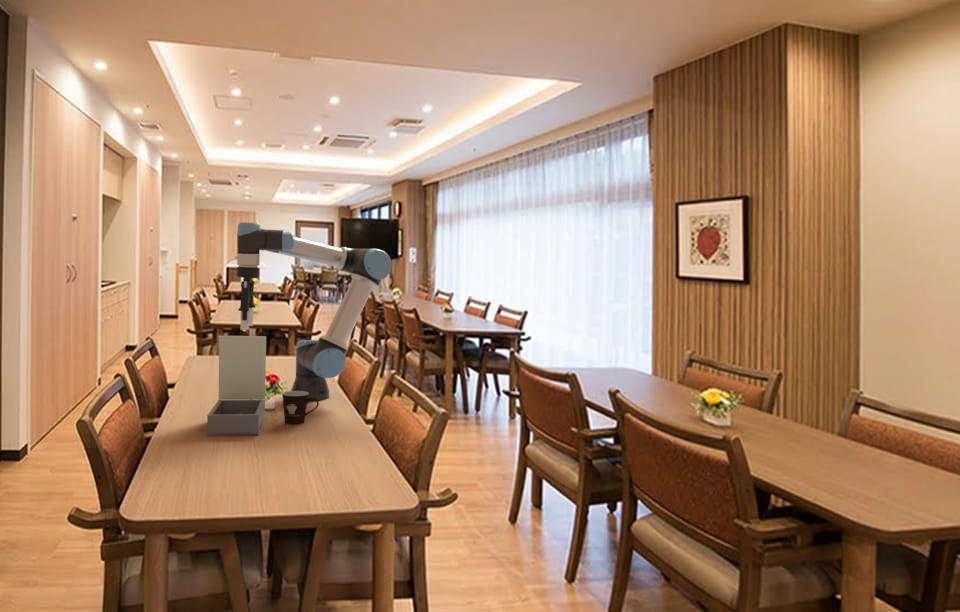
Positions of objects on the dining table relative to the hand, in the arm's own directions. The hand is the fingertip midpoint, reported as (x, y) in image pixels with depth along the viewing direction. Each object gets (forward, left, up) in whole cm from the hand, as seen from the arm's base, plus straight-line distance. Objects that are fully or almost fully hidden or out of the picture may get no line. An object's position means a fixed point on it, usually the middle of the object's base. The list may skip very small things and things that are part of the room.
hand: (246, 327), depth 236 cm
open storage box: (0, +22, -30) cm, 37 cm away
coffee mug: (-19, +18, -30) cm, 40 cm away
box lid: (0, +12, -13) cm, 17 cm away
